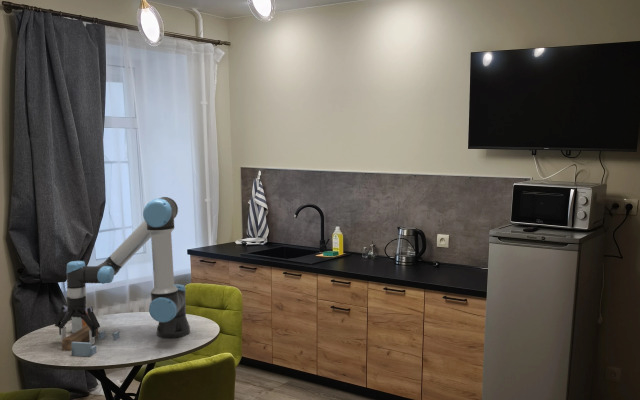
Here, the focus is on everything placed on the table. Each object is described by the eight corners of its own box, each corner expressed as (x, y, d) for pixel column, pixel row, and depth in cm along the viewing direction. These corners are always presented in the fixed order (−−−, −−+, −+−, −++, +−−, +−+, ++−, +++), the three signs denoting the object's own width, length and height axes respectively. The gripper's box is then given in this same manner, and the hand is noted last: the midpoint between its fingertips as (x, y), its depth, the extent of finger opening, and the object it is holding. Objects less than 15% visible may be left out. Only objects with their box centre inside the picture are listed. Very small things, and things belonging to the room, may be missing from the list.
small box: (82, 334, 262) (81, 312, 261) (71, 333, 263) (70, 311, 262) (92, 329, 270) (91, 307, 269) (82, 328, 271) (81, 307, 270)
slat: (98, 334, 262) (97, 324, 262) (71, 351, 240) (70, 339, 240) (90, 334, 263) (89, 324, 262) (62, 350, 241) (62, 339, 240)
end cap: (96, 352, 238) (96, 339, 237) (90, 356, 233) (89, 343, 233) (78, 351, 239) (77, 338, 239) (71, 355, 235) (71, 342, 234)
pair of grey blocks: (119, 337, 257) (119, 331, 257) (115, 340, 254) (115, 333, 253) (102, 336, 258) (102, 330, 258) (98, 339, 255) (98, 332, 255)
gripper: (107, 295, 249) (108, 341, 251) (55, 292, 253) (57, 338, 255) (98, 299, 242) (99, 347, 244) (45, 297, 246) (46, 344, 248)
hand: (77, 343), depth 249 cm, fingers open, 13 cm apart
